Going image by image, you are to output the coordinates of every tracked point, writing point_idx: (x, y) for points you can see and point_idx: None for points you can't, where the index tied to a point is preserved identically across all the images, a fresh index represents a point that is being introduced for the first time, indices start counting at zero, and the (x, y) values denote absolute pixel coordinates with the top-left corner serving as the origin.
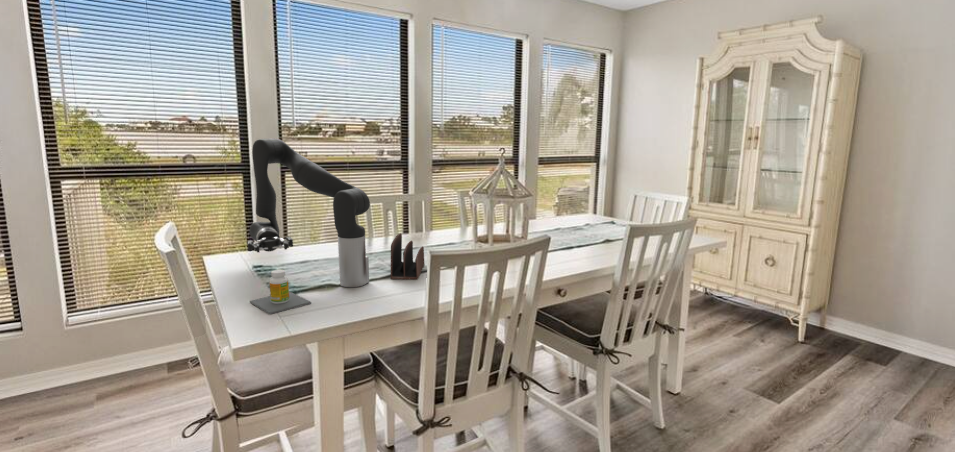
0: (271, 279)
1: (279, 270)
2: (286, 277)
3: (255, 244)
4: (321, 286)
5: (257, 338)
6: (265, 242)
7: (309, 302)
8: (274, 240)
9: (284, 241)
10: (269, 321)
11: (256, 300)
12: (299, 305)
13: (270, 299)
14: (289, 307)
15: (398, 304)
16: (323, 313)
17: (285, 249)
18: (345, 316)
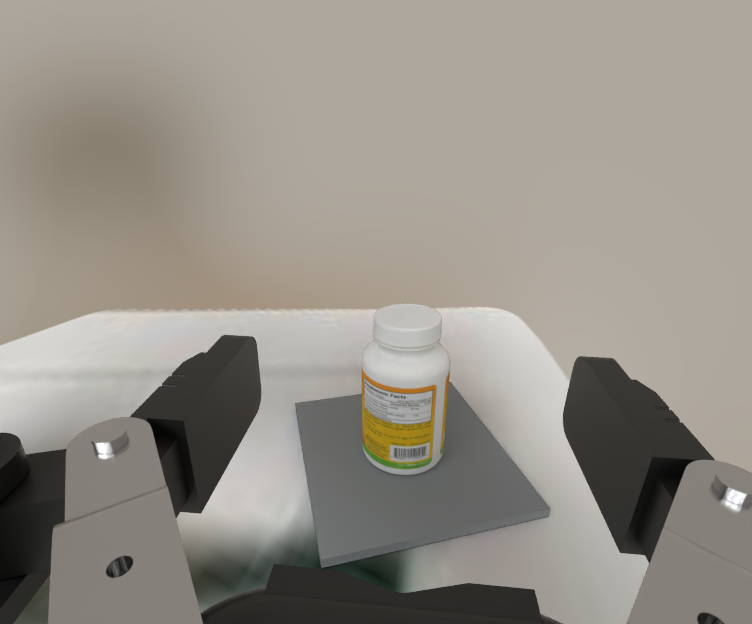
0: (441, 345)
1: (399, 319)
2: (369, 345)
3: (708, 470)
4: None
5: (478, 315)
6: (534, 610)
7: (301, 404)
8: (271, 615)
9: (173, 409)
10: (452, 357)
11: (514, 500)
12: (343, 399)
13: (444, 484)
14: None
15: (102, 331)
16: (301, 349)
17: (253, 403)
18: (266, 326)
